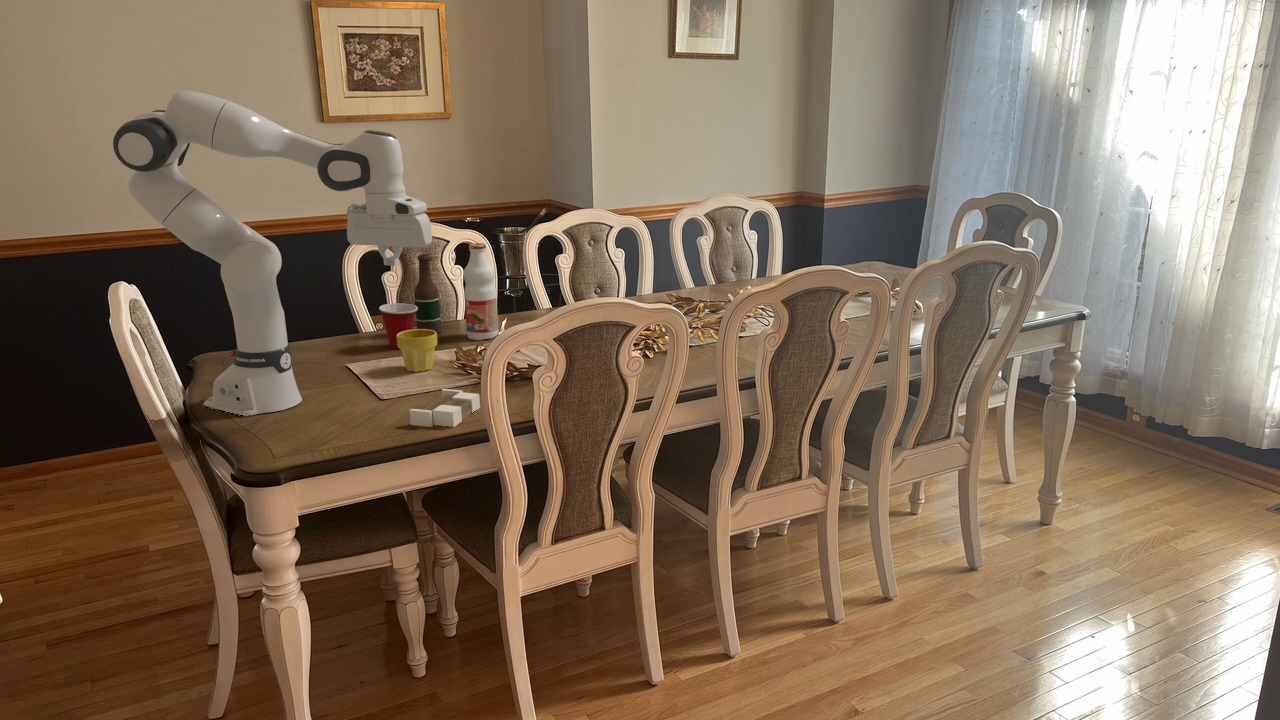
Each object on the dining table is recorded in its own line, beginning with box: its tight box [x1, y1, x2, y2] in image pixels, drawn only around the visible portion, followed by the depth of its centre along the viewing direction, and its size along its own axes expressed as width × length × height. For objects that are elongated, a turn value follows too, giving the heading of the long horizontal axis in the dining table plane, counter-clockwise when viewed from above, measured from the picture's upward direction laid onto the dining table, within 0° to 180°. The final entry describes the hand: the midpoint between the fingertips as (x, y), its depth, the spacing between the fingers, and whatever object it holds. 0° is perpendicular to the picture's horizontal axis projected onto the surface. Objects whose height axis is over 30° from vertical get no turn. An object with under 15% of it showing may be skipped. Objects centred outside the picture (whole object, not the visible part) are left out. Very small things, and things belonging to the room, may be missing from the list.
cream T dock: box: [409, 388, 481, 428], centre depth 213 cm, size 10×16×4 cm, turn 163°
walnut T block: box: [422, 395, 471, 421], centre depth 213 cm, size 8×11×3 cm
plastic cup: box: [378, 302, 418, 350], centre depth 268 cm, size 11×11×12 cm
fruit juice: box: [463, 242, 499, 341], centre depth 275 cm, size 9×9×28 cm
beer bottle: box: [414, 254, 442, 335], centre depth 281 cm, size 8×8×24 cm
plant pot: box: [397, 328, 438, 373], centre depth 247 cm, size 10×10×10 cm
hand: (391, 265), depth 213 cm, fingers closed
